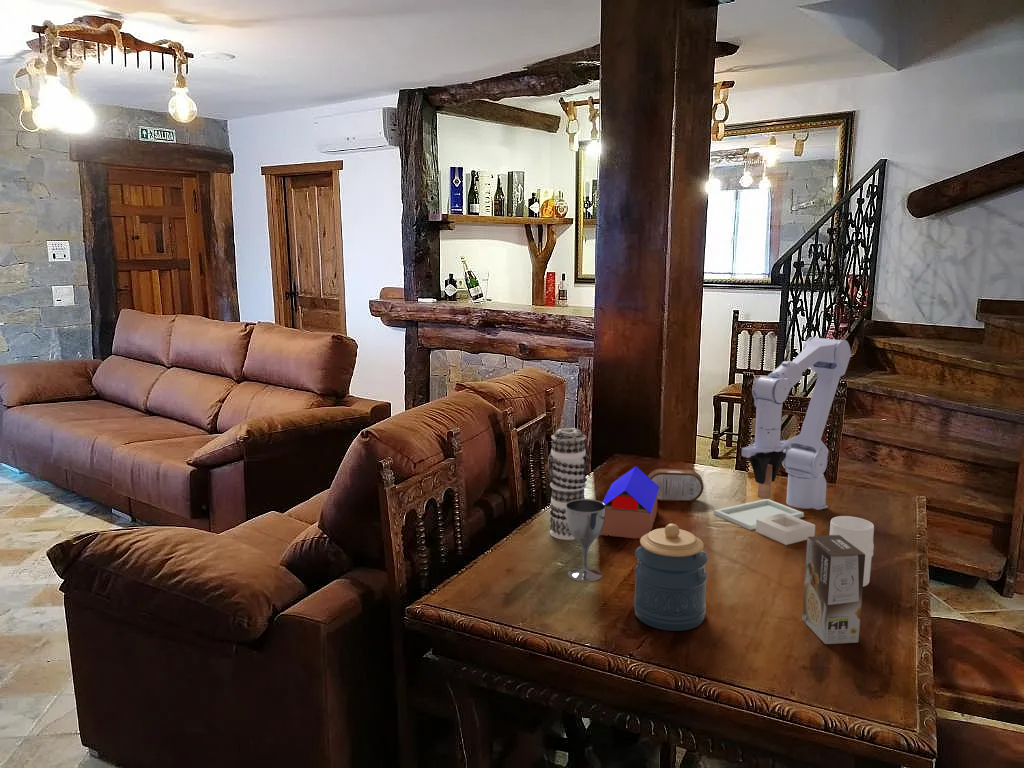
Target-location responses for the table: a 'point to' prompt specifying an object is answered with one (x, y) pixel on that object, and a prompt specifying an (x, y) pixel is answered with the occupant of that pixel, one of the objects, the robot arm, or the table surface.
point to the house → (630, 505)
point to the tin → (677, 484)
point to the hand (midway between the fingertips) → (765, 481)
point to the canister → (670, 579)
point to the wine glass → (585, 532)
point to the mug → (856, 537)
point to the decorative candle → (566, 477)
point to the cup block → (785, 528)
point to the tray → (754, 512)
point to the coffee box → (833, 589)
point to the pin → (766, 484)
